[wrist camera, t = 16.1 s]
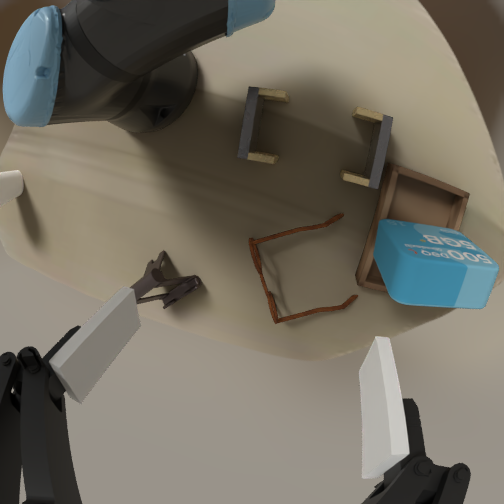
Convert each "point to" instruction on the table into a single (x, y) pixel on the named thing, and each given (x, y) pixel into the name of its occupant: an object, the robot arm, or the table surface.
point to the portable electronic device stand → (163, 284)
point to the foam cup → (10, 186)
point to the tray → (410, 212)
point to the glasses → (259, 268)
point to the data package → (432, 266)
